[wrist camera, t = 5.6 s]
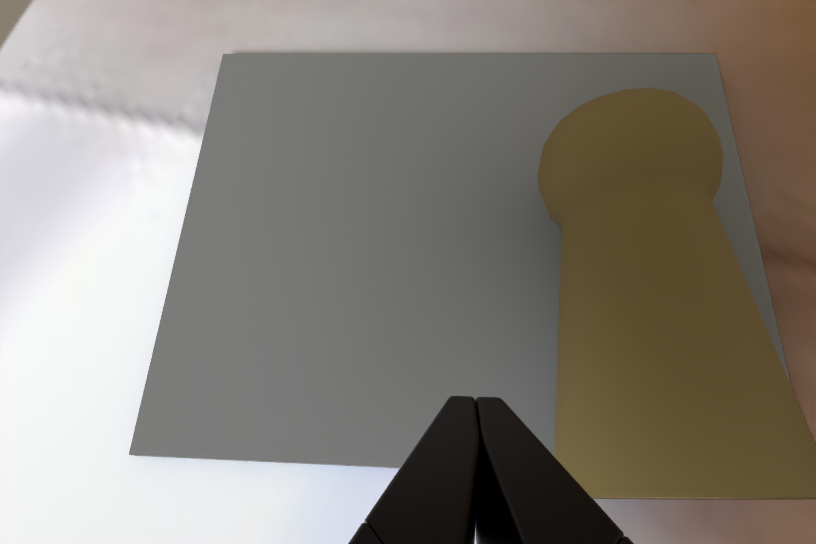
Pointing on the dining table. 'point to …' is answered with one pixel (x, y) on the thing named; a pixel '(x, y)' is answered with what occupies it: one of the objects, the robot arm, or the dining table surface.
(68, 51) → the dining table surface
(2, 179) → the dining table surface
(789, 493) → the cork
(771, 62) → the dining table surface
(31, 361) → the dining table surface
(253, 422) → the rubber mat
